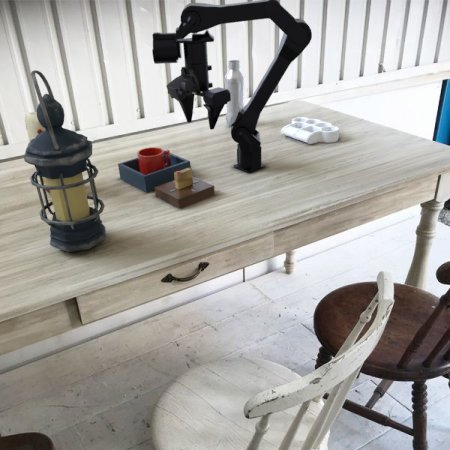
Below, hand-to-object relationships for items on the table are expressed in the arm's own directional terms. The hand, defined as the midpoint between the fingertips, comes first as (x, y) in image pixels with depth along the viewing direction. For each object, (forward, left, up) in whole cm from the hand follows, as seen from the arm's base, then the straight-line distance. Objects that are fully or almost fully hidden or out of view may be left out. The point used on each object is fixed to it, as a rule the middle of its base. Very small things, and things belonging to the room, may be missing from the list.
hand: (200, 125), depth 138 cm
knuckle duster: (-3, -41, -12) cm, 43 cm away
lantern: (-13, +45, -12) cm, 49 cm away
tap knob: (-10, +14, -9) cm, 20 cm away
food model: (+17, +36, -12) cm, 42 cm away
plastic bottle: (+22, -32, -12) cm, 40 cm away
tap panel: (-10, +14, -12) cm, 21 cm away
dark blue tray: (+5, +13, -12) cm, 18 cm away
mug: (+5, +12, -11) cm, 17 cm away
